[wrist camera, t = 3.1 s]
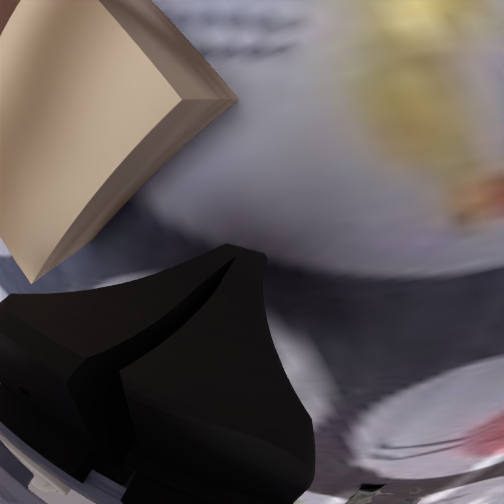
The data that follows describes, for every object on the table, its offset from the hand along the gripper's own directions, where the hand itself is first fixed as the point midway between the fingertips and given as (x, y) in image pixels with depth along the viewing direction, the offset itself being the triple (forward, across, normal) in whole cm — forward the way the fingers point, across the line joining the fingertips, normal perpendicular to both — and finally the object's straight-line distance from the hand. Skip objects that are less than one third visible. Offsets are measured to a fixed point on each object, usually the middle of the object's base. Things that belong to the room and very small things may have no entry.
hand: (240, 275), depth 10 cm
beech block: (+1, +7, -4) cm, 8 cm away
